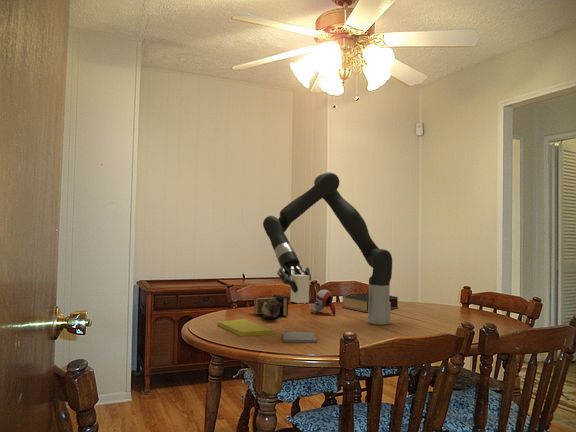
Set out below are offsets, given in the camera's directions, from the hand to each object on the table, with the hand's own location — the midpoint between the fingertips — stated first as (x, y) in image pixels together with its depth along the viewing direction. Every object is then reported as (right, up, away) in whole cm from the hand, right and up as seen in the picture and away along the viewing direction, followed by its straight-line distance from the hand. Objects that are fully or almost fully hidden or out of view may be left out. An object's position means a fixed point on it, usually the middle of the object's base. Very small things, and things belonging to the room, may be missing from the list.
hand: (302, 290), depth 168 cm
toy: (+10, -20, +54) cm, 58 cm away
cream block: (-1, -4, +1) cm, 5 cm away
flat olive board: (-23, -19, +13) cm, 33 cm away
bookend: (-13, -19, +40) cm, 46 cm away
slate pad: (-1, -18, +1) cm, 18 cm away
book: (+39, -22, +72) cm, 84 cm away
